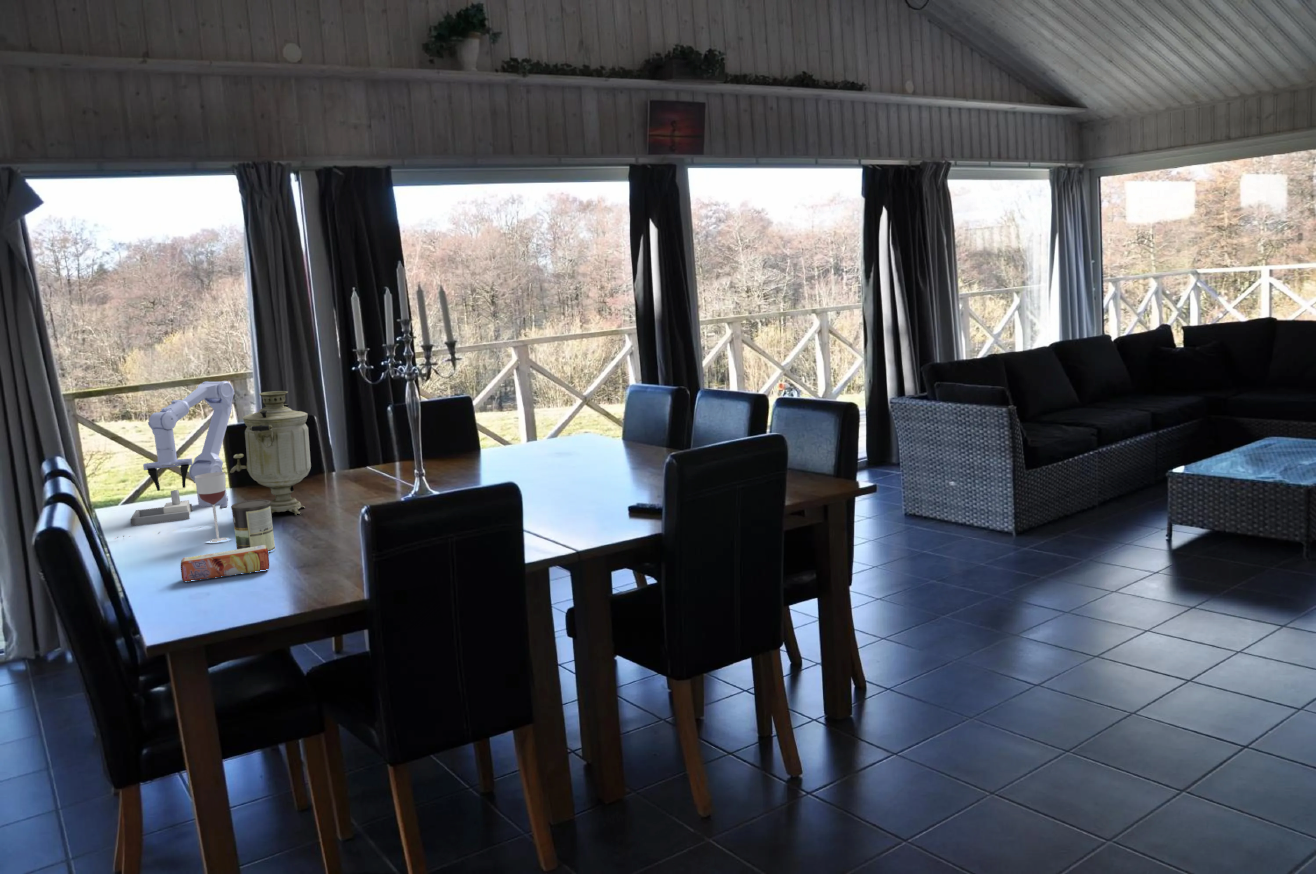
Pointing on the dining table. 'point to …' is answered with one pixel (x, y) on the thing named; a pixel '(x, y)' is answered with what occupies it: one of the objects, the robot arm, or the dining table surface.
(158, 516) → the bay
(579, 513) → the dining table surface
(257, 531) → the coffee can
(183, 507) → the peg on square base
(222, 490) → the wineglass
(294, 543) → the dining table surface
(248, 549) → the snack package
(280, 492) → the samovar
